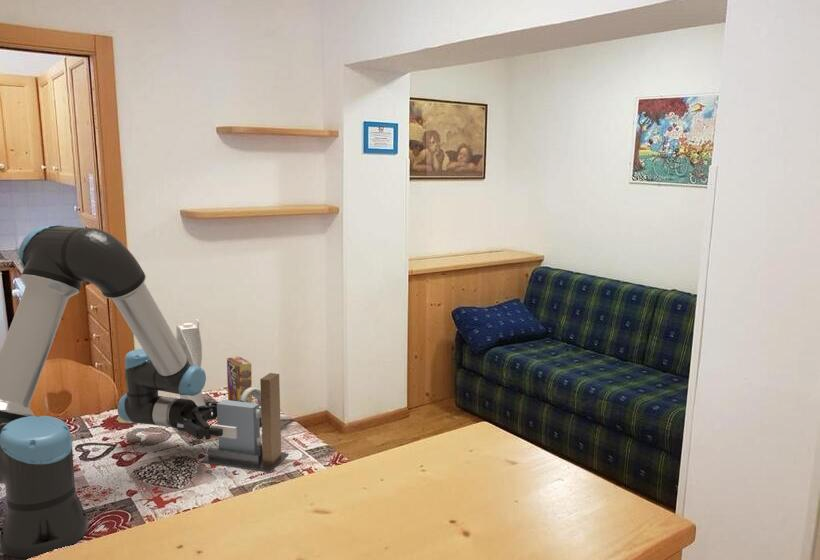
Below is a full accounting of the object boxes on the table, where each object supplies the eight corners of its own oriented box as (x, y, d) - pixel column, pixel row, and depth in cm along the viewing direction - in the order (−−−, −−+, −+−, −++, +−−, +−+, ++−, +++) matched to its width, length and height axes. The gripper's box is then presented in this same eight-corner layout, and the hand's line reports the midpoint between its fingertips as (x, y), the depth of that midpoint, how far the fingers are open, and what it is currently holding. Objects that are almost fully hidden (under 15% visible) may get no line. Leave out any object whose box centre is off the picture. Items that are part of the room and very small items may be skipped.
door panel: (258, 461, 160) (256, 408, 157) (219, 456, 162) (216, 403, 160) (263, 456, 163) (262, 404, 160) (225, 451, 165) (223, 399, 163)
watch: (271, 422, 185) (270, 386, 183) (249, 431, 179) (247, 394, 177) (258, 418, 188) (257, 382, 186) (236, 426, 182) (234, 389, 180)
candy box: (253, 411, 194) (252, 362, 191) (240, 414, 191) (238, 365, 188) (240, 402, 200) (239, 355, 198) (227, 405, 198) (225, 357, 195)
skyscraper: (212, 405, 198) (208, 316, 193) (196, 414, 190) (191, 322, 185) (188, 401, 200) (184, 314, 195) (172, 411, 193) (167, 320, 188)
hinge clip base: (270, 472, 155) (267, 383, 151) (200, 462, 160) (196, 376, 156) (288, 454, 165) (286, 371, 161) (222, 445, 170) (219, 364, 166)
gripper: (204, 409, 178) (273, 418, 173) (145, 446, 154) (223, 457, 149) (202, 383, 177) (273, 391, 171) (143, 417, 153) (222, 427, 148)
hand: (250, 422), depth 160 cm, fingers open, 13 cm apart
